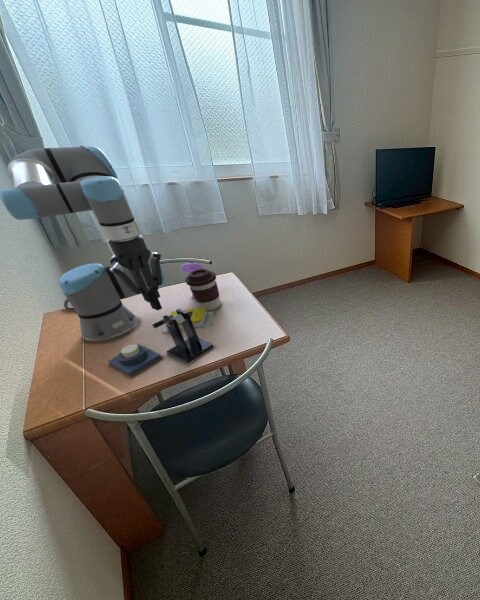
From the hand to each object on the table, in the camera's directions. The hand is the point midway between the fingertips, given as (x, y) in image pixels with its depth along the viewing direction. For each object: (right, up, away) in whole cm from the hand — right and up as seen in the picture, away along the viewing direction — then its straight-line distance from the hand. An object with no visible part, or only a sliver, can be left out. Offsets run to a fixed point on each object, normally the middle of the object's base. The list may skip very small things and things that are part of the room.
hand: (157, 308), depth 100 cm
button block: (-6, -17, -1) cm, 18 cm away
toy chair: (-7, +6, +36) cm, 37 cm away
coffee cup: (+1, 0, +27) cm, 27 cm away
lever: (+5, -5, 0) cm, 7 cm away
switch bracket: (+8, -14, +4) cm, 17 cm away
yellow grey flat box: (-1, -6, +17) cm, 18 cm away
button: (-6, -14, -3) cm, 15 cm away
